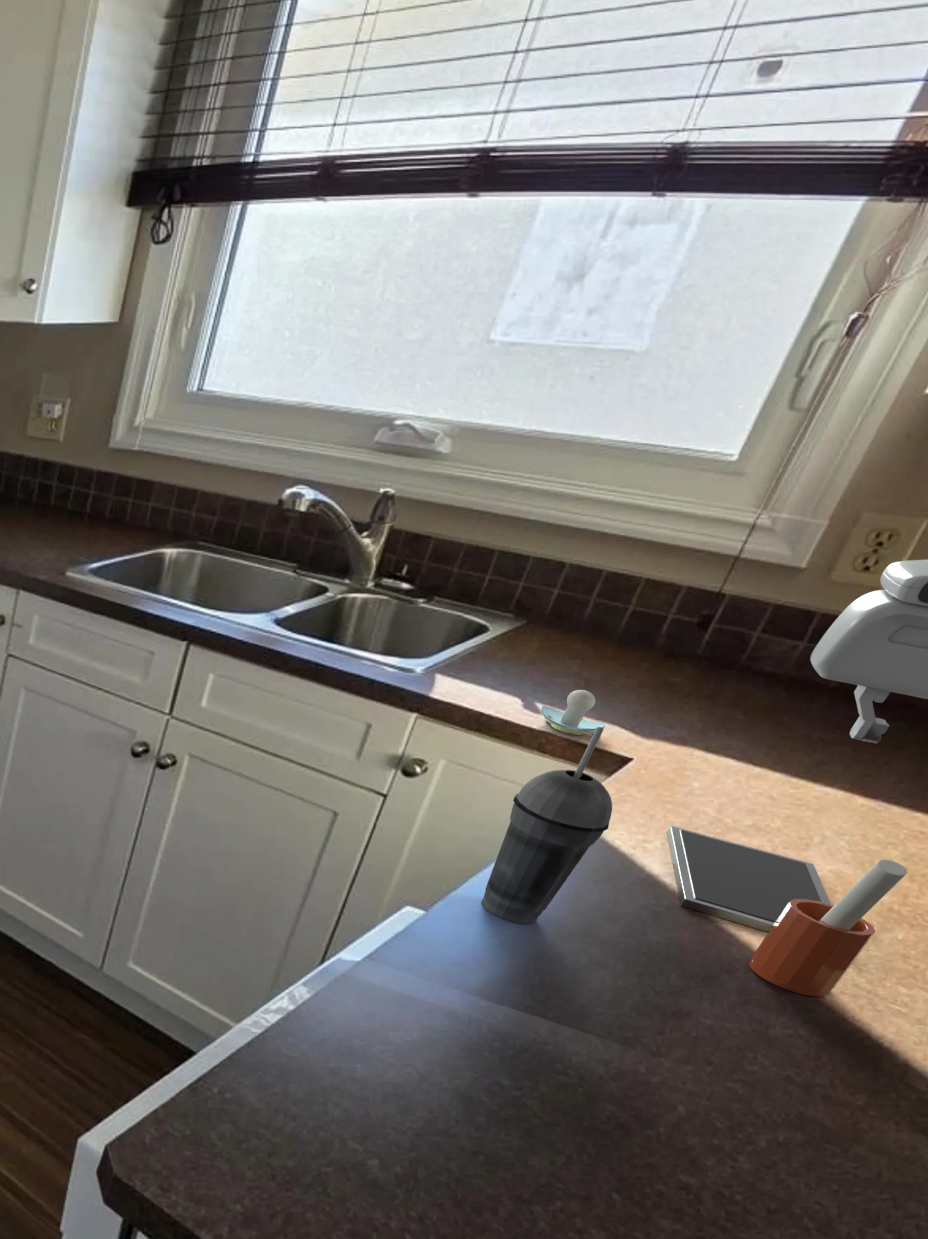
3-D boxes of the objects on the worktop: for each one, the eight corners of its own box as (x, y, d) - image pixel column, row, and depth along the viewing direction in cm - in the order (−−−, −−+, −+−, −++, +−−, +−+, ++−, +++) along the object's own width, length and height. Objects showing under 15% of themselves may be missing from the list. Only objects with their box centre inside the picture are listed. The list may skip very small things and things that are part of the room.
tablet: (809, 870, 112) (814, 863, 111) (844, 955, 98) (850, 947, 97) (666, 831, 118) (670, 824, 118) (680, 905, 104) (685, 897, 104)
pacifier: (543, 716, 149) (530, 723, 145) (563, 676, 146) (550, 683, 143) (606, 735, 143) (593, 743, 140) (627, 694, 141) (615, 701, 137)
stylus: (804, 964, 94) (906, 863, 85) (806, 978, 93) (909, 878, 84) (778, 956, 95) (876, 856, 86) (779, 970, 94) (878, 870, 85)
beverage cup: (466, 914, 101) (556, 734, 92) (463, 881, 106) (548, 708, 97) (557, 941, 97) (661, 757, 88) (549, 906, 103) (647, 729, 94)
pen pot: (823, 976, 95) (867, 915, 91) (834, 1005, 91) (881, 942, 88) (745, 951, 97) (785, 891, 94) (752, 979, 94) (794, 917, 90)
